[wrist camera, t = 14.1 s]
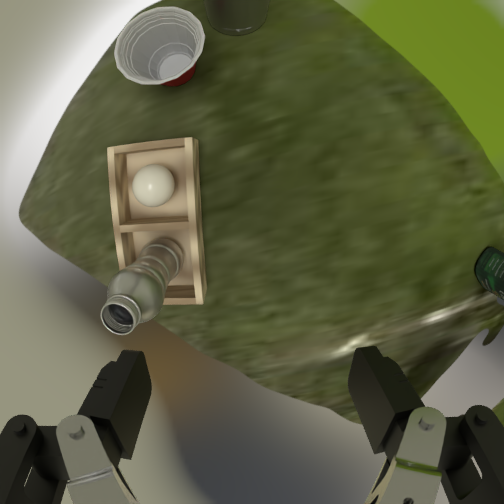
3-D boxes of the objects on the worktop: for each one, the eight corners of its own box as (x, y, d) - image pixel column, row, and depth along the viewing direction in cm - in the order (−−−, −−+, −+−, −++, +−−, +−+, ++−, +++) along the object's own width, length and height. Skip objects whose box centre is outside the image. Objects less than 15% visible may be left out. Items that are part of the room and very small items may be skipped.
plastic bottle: (140, 239, 43) (77, 293, 24) (180, 230, 43) (137, 283, 24) (151, 277, 45) (101, 349, 26) (190, 270, 45) (159, 344, 26)
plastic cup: (180, 116, 39) (158, 101, 28) (130, 80, 37) (97, 58, 25) (228, 63, 37) (224, 31, 26) (176, 29, 35) (158, -7, 23)
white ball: (139, 165, 40) (124, 166, 34) (177, 161, 40) (167, 161, 35) (141, 205, 42) (127, 211, 36) (179, 202, 42) (170, 208, 36)
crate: (122, 148, 40) (107, 147, 35) (198, 140, 40) (192, 137, 35) (137, 289, 47) (126, 304, 42) (207, 288, 47) (203, 304, 42)
